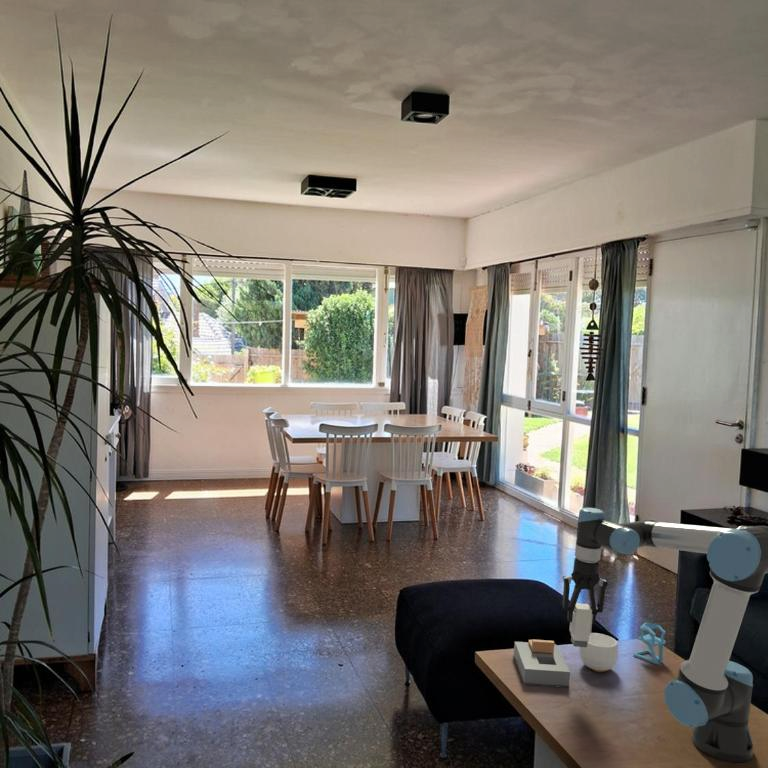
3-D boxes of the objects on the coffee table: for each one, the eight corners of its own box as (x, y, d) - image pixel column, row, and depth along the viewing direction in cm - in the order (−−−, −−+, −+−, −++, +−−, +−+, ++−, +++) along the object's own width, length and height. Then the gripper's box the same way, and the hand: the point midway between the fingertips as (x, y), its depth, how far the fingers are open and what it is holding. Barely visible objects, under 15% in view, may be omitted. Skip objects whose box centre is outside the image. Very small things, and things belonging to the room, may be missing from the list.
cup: (620, 666, 243) (623, 638, 242) (611, 680, 232) (614, 651, 232) (583, 656, 249) (586, 628, 248) (573, 669, 239) (575, 641, 238)
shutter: (553, 653, 238) (554, 642, 237) (532, 651, 238) (533, 641, 237) (549, 643, 245) (549, 633, 244) (528, 642, 245) (529, 632, 244)
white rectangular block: (588, 647, 221) (591, 609, 220) (573, 646, 221) (577, 608, 220) (584, 641, 226) (588, 604, 225) (569, 640, 226) (573, 603, 225)
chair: (652, 666, 245) (656, 631, 244) (632, 655, 252) (636, 622, 251) (667, 661, 249) (670, 628, 248) (647, 651, 256) (650, 618, 255)
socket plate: (568, 687, 226) (570, 671, 225) (523, 684, 226) (525, 668, 226) (554, 658, 246) (555, 644, 245) (513, 655, 246) (514, 641, 246)
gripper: (612, 557, 225) (605, 629, 227) (555, 552, 225) (548, 625, 227) (619, 565, 217) (612, 640, 219) (561, 560, 218) (554, 635, 220)
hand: (580, 632), depth 223 cm, fingers closed on white rectangular block, 4 cm apart
